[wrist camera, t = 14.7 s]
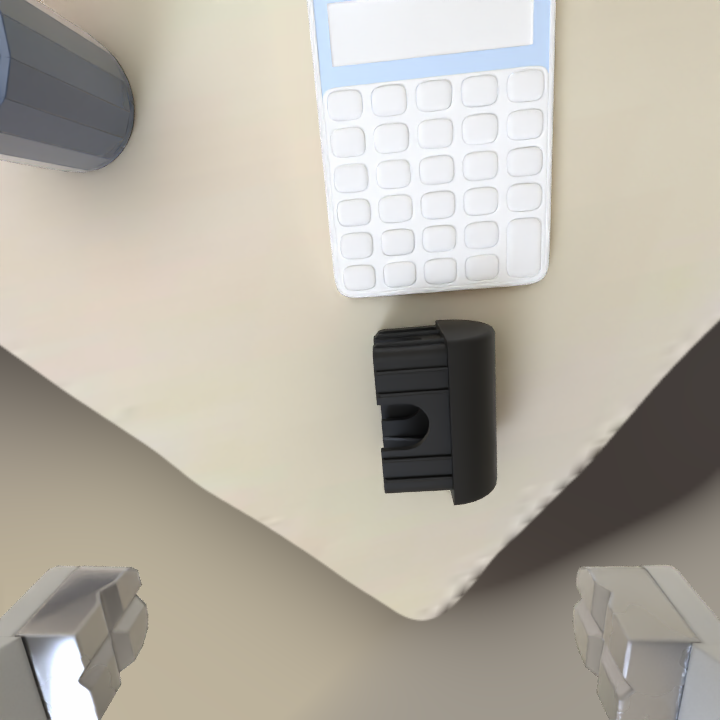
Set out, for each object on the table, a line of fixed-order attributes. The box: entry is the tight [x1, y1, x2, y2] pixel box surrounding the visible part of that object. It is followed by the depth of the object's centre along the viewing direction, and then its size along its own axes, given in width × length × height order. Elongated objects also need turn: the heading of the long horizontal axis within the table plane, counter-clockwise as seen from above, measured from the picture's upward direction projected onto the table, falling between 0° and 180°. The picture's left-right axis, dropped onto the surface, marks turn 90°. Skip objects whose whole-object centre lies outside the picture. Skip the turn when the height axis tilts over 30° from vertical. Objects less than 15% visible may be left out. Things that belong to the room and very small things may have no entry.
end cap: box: [373, 320, 497, 505], centre depth 29 cm, size 10×7×7 cm
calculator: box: [307, 0, 556, 298], centre depth 27 cm, size 13×20×2 cm, turn 5°
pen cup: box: [0, 0, 134, 172], centre depth 24 cm, size 8×8×10 cm
